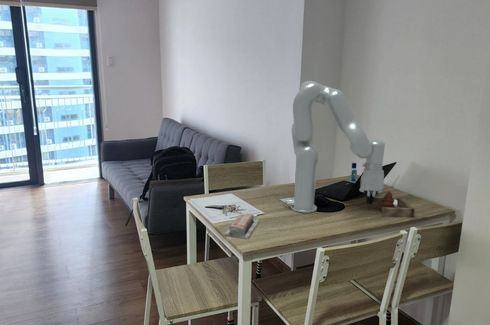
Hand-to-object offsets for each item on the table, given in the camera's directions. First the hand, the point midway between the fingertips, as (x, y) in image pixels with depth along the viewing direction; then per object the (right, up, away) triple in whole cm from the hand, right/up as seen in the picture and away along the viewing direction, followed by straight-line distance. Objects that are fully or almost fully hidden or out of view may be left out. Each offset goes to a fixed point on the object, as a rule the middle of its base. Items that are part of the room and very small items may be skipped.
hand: (369, 203), depth 196 cm
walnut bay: (+10, -3, +1) cm, 11 cm away
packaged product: (-61, -9, -26) cm, 67 cm away
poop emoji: (+9, -4, +1) cm, 10 cm away
